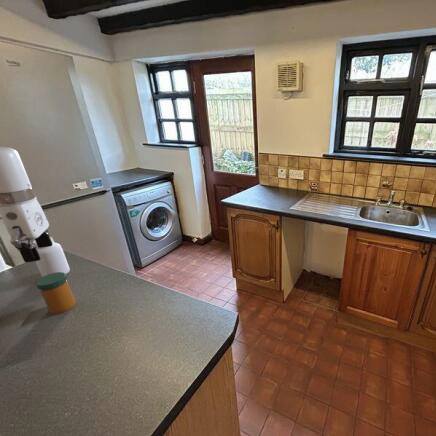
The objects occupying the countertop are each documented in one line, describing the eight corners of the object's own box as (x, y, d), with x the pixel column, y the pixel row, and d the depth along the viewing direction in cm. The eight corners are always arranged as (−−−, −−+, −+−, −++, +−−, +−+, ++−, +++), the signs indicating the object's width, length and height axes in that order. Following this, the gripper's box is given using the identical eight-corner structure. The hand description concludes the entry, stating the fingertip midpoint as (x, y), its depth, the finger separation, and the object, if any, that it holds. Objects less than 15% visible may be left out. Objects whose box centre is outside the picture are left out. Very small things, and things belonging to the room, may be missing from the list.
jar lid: (33, 293, 71) (31, 287, 70) (43, 280, 76) (41, 275, 75) (63, 287, 73) (61, 282, 73) (70, 274, 79) (68, 270, 78)
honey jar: (46, 316, 74) (32, 288, 70) (54, 303, 80) (41, 276, 76) (72, 310, 77) (61, 283, 73) (78, 297, 82) (68, 271, 78)
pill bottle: (51, 282, 89) (36, 246, 84) (37, 277, 92) (21, 242, 86) (75, 270, 96) (62, 236, 91) (61, 266, 99) (48, 233, 93)
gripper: (17, 204, 58) (44, 266, 65) (46, 186, 73) (66, 238, 79) (-28, 208, 55) (6, 272, 62) (12, 189, 70) (35, 242, 76)
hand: (39, 253), depth 71 cm, fingers open, 8 cm apart
